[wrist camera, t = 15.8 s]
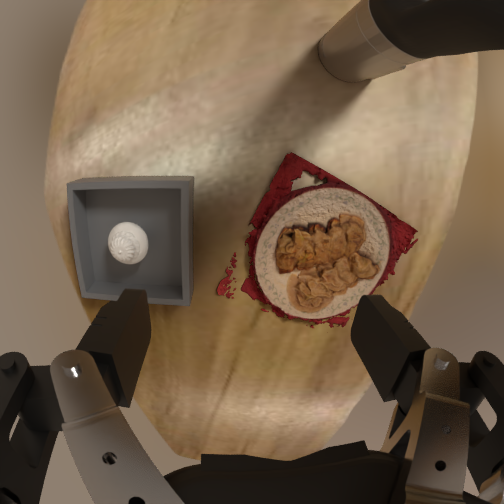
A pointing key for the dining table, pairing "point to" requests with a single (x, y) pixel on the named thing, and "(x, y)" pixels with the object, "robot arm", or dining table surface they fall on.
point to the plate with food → (319, 246)
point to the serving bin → (147, 217)
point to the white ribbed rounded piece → (128, 243)
